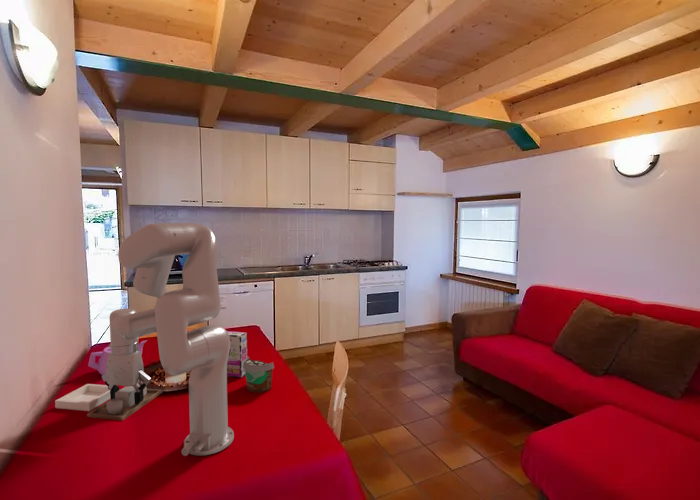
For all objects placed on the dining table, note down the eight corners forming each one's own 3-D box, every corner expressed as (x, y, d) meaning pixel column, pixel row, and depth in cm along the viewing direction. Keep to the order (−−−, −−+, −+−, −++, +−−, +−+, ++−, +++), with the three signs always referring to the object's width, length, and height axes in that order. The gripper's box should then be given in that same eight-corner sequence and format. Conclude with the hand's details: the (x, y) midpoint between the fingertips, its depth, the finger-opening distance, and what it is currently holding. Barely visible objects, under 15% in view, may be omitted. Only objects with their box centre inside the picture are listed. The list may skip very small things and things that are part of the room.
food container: (235, 389, 130) (235, 361, 129) (248, 382, 135) (247, 356, 134) (262, 397, 124) (262, 368, 123) (274, 390, 130) (274, 362, 129)
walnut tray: (123, 422, 108) (123, 417, 108) (87, 418, 110) (86, 414, 110) (162, 393, 126) (162, 389, 126) (131, 391, 128) (130, 387, 128)
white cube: (140, 398, 121) (140, 387, 121) (127, 398, 121) (127, 388, 121) (146, 393, 125) (146, 382, 125) (134, 393, 125) (133, 382, 125)
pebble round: (115, 417, 110) (114, 405, 109) (103, 415, 111) (103, 403, 110) (126, 410, 114) (126, 399, 113) (115, 408, 115) (114, 397, 114)
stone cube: (128, 407, 115) (127, 393, 115) (115, 406, 116) (115, 392, 116) (138, 400, 120) (138, 387, 119) (126, 399, 120) (125, 386, 120)
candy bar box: (248, 373, 144) (247, 332, 142) (241, 378, 139) (240, 336, 137) (222, 370, 146) (222, 329, 145) (215, 375, 141) (214, 333, 140)
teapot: (151, 370, 146) (150, 342, 145) (89, 383, 134) (88, 354, 133) (145, 360, 156) (144, 334, 155) (87, 371, 144) (86, 344, 143)
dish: (89, 413, 113) (89, 403, 113) (55, 409, 115) (55, 400, 115) (119, 394, 125) (118, 386, 125) (87, 392, 127) (87, 383, 126)
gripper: (90, 350, 114) (93, 405, 115) (141, 354, 112) (143, 409, 113) (109, 342, 121) (112, 393, 123) (157, 345, 119) (159, 398, 120)
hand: (127, 401), depth 118 cm, fingers open, 7 cm apart
